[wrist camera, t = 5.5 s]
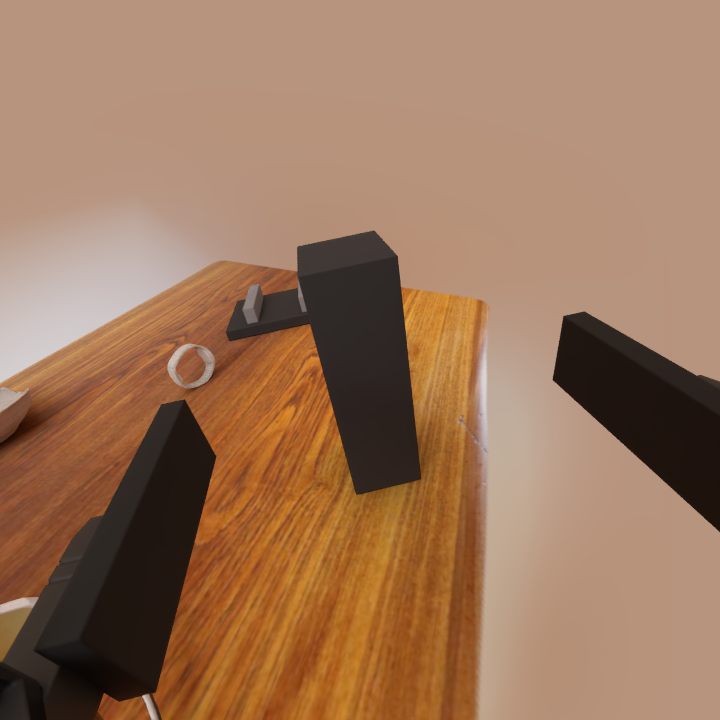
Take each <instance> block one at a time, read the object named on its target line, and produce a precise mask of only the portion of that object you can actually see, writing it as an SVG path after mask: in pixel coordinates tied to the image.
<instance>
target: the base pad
mask: <svg viewBox="0 0 720 720" xmlns="http://www.w3.org/2000/svg"><path fill="white" fill-rule="evenodd" d="M309 323H310V321H309V318H308V314H307V310H306V306H305V303H304V299H303V295H302V292H301V288H300V284H299V280H298V288H296V289H291V290H287V291H282V292H277V293H273V294H268V295H263V294H262V291H261V288H260V285H259V284H258V285H254V286H250V288H249V291H248V294H247V297H246V299H245V300H240V301H237V304H236V306H235V309H234V312H233V314H232V317H231V320H230V322H229V325H228V328H227V331H226V334H227V336H228V338H229V341H231V340H235V339H240V338H245V337H249V336H254V335H258V334H263V333H267V332H272V331H277V330H281V329H286V328H290V327H295V326H299V325H304V324H309Z"/></svg>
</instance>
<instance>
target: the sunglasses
mask: <svg viewBox="0 0 720 720" xmlns="http://www.w3.org/2000/svg"><path fill="white" fill-rule="evenodd" d="M38 598H39V597H29V598H21V599H18V600H14V601H11V602H7V603H4V604H2V605H0V661H1V662H2V661H3V659H4V658H5V656H6V654H7V652H8V650H9V649H10V647H11V645H12V643H13V642H14V640H15V638H16V636H17V635H18V633H19V631H20V629H21V628H22V626H23V624H24V622H25V621H26V619H27V617H28V615H29V614H30V612H31V610H32V608H33V607H34V605H35V603H36V601H37V600H38ZM142 698H143V700H144V703H145V705H146V707H147V710H148V712H149V715H150V718H151V720H162V718H161V715H160V712H159V709H158V707H157V704H156V702H155V700H154V698H153V696H152V693H150V694H147V695H143V696H142Z"/></svg>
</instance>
